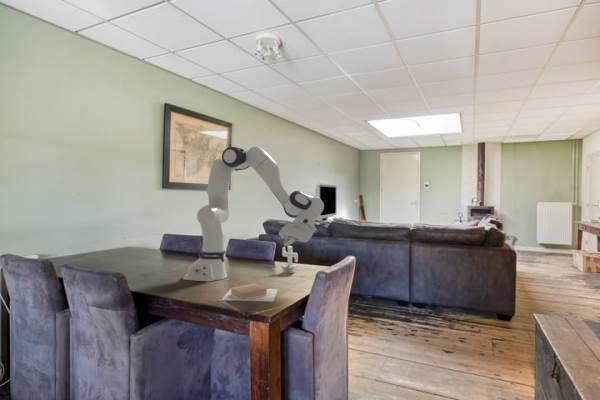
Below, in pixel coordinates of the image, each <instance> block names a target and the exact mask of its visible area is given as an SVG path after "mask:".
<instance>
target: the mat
mask: <svg viewBox="0 0 600 400" xmlns="http://www.w3.org/2000/svg"><path fill="white" fill-rule="evenodd" d="M278 290H279V288H267V295H265V296H260V297H256V298H251V299H246V300H241V299H239V298H237V297H235V296H233V295H231V288H230V289H228V291H227V292H226V293H225V295H224V296H222V298H221V299H220V302H226V301H237V302H238V301H241V302H243V301H244V302H245V301H246V302H247V301H248V302H274V301H275V298H276V295H277V293H278Z"/></svg>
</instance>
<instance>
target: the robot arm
mask: <svg viewBox="0 0 600 400" xmlns="http://www.w3.org/2000/svg"><path fill="white" fill-rule="evenodd" d="M250 167H251V168H252V169H253V170H254V171H255V172H256V174H257V175H258V176H259V177H260V178H261V179H262V180H263V182H264V183H265V184H266V185H267V187H268V188H269V189H270V192H272V194H273V195H274V196H275V197H276V199H277V200H278V201H279V203H280V204H281V205H282V208H283V211H284V213H285V214H286V215H287V216H288V217H289V218H291V219H293V221H292V222H289V223H286V224H285V225H284V226H283V227H282V228H281V229H280V230H279V231H278V235H279V236H280V237H281V238H282V239H284V242H283V246H284V247H287V248H288V247H289V246H292V244H294V243H295V242H296V241H297V242H302V243H307V242H308V241H309V240H310V239H311V238H312V236H313V235H314V233H315V232H317V228H316V226H315V225H314V222H315V221H316V220H318V219H319V217H320V216H321V214H322V213H323V211H324V208H325V204H324V202H323V200H322V199H321V198H320V197H319V196H316V195H315V196H314V195H313V196H312V195H309V194H306V193H304V191H301V190H295V191H293V192H291V193H290V194H289V192H288V191H287V190H286V188H285V187H284V186H283V184H282V182H281V174H280V173H281V172H280V167H279V164H278V163H277V162H276V161H275V159H274V158H273V157H272V156H271V155H270V154H269V153H268V151H266V150H264V149H263V148H262V147H261V146H258V145H255V146H252V147H250V148H249V149H248V150H245V149H243V148H241V147H238V146H229V147H227V148H225V149H224V150H223V151H222V154H221V157H220V158H216V159H215V160H213V162H212V165H211V167H210V171H209V177H208V183H207V189H206V193H207V196H208V205H204V206H202V207H201V208H199V210H198V211H197V213H196V214H197V215H196V219H197V221H198V223H199V224H200V228H201V229H200V230H201V233H202V250H201V251H200V252H199V253H198V256H199V257H198V259H196V260H195V261H194V262H192V263H191V264H190V265H189V266H188V269H187V273H186V274H184V275H183V277H182V279H183V281H184V280H186V281H187V280H188V281H196V282H197V281H199V282H212V281H218V280H223V279H226V278H227V277H228V274H227V270H226V262H225V261H226V250H225V235H224V232H223V228H222V224H223V223H225V222H226V221H227V220H228V219H229V216H230V211H229V190H230V185H231V177H232V173H233V171H243V170H244V171H245V170H247V169H249V168H250Z"/></svg>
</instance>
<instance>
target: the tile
mask: <svg viewBox="0 0 600 400" xmlns="http://www.w3.org/2000/svg"><path fill="white" fill-rule="evenodd" d="M230 289H231V295H233V296H235V297H237V298H239V299H241V300H246V299H251V298H256V297H260V296H265V295H267V289H268V288H266V287H265V286H261V285H260V284H257V283H249V284H244V285H238V286H233V287H231V288H230Z"/></svg>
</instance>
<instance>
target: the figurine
mask: <svg viewBox="0 0 600 400" xmlns="http://www.w3.org/2000/svg"><path fill="white" fill-rule="evenodd" d="M281 252H282V253H281V255H282V257H284V258H287V263H286V264H285V265H282V266H281V268H282V270H283V272H284V274H293V273H295V272H296V270H297V268H298V266H299V265H298V264H293V258H294V262H295V263H298V262H299V260H298V259H299V255H298V253H297V252H293V246H292V245H290V246H289V247H288V246H287V251H286V246H283V247H282V249H281Z"/></svg>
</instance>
